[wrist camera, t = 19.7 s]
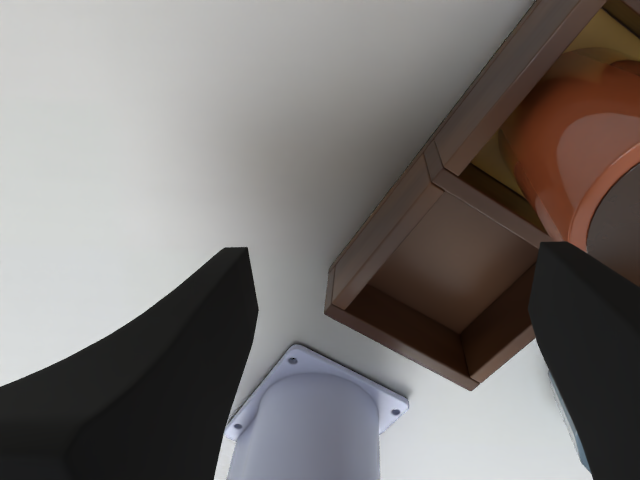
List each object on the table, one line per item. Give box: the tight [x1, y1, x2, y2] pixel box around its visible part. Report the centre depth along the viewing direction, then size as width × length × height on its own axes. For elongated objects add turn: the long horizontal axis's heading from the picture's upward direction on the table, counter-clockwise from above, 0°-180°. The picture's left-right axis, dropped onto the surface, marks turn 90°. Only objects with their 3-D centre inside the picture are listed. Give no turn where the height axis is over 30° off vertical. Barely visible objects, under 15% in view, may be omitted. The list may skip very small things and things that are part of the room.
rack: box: [324, 0, 640, 391], centre depth 20 cm, size 16×8×4 cm, turn 149°
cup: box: [498, 47, 640, 287], centre depth 15 cm, size 6×6×8 cm
